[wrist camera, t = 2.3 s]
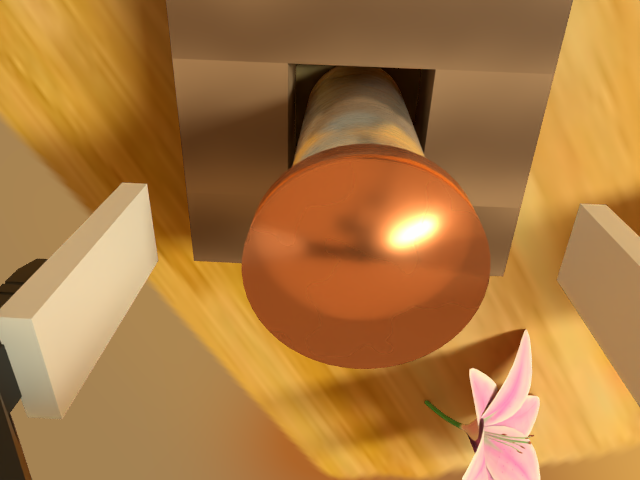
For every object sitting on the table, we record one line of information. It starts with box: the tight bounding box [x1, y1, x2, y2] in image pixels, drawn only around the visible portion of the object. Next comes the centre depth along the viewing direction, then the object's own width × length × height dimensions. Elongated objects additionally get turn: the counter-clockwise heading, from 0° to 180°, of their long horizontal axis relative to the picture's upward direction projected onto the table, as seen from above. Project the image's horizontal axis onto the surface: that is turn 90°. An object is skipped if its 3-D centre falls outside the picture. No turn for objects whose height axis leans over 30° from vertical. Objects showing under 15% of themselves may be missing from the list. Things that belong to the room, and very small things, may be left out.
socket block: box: [166, 0, 573, 276], centre depth 25 cm, size 14×16×4 cm
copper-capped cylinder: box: [242, 65, 490, 369], centre depth 20 cm, size 6×6×15 cm
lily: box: [425, 330, 540, 480], centre depth 33 cm, size 12×12×10 cm
